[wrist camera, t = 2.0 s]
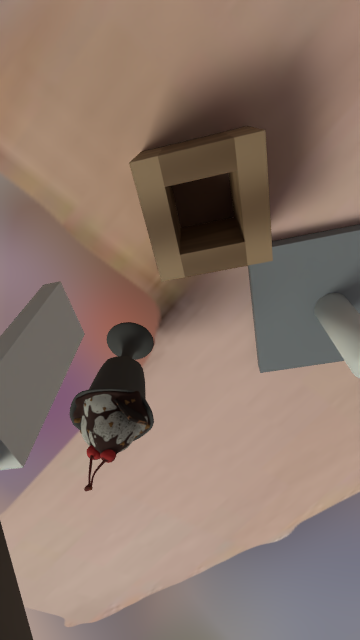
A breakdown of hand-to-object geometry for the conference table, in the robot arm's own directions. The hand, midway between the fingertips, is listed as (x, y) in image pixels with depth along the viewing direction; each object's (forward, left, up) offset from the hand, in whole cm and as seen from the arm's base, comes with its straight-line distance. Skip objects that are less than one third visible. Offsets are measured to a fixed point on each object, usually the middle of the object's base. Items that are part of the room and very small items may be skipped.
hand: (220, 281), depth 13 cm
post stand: (+12, +10, -15) cm, 22 cm away
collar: (0, 0, -15) cm, 15 cm away
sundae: (+13, -10, -15) cm, 22 cm away
